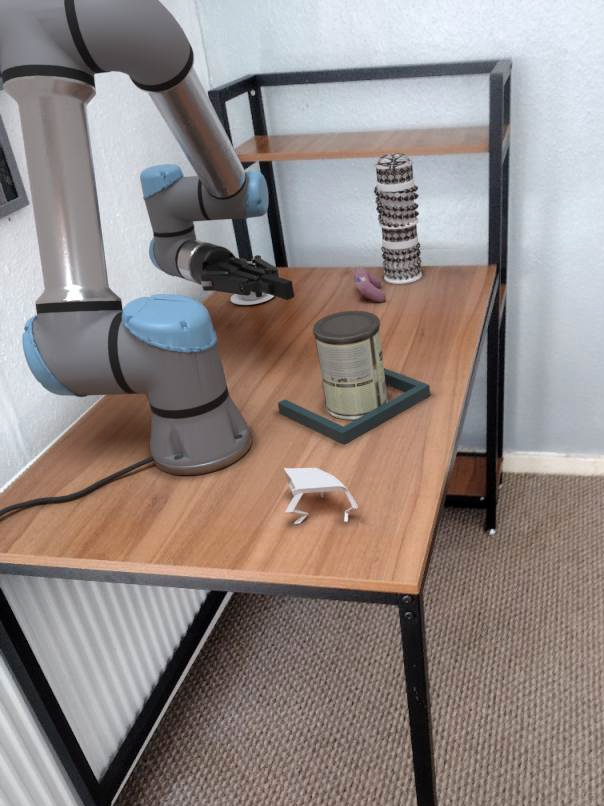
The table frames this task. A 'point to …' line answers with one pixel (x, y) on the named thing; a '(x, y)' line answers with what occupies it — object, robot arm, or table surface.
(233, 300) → the teacup
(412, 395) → the teal u-shaped frame
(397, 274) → the decorative candle
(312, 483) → the origami figure
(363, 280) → the video game controller
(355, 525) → the table surface
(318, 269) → the table surface
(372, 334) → the coffee can
